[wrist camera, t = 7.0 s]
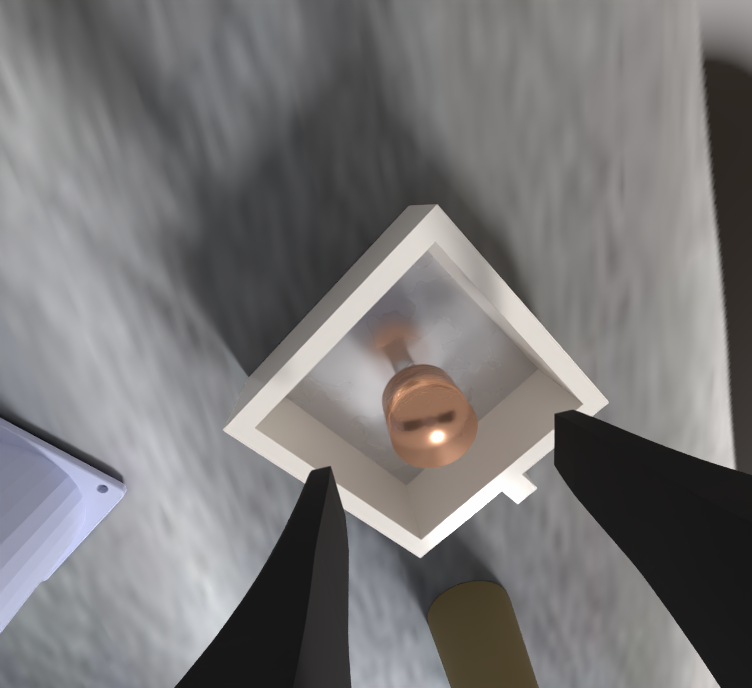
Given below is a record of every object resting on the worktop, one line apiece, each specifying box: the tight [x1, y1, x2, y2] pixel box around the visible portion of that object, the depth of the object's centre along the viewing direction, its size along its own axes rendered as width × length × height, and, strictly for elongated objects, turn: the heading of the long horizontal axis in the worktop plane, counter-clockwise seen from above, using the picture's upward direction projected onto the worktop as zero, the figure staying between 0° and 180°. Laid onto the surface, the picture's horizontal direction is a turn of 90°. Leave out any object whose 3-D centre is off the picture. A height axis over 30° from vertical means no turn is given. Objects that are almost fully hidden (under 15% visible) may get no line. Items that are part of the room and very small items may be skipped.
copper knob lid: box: [285, 250, 538, 485], centre depth 15 cm, size 9×9×5 cm
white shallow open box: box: [223, 204, 609, 558], centre depth 16 cm, size 13×11×4 cm
